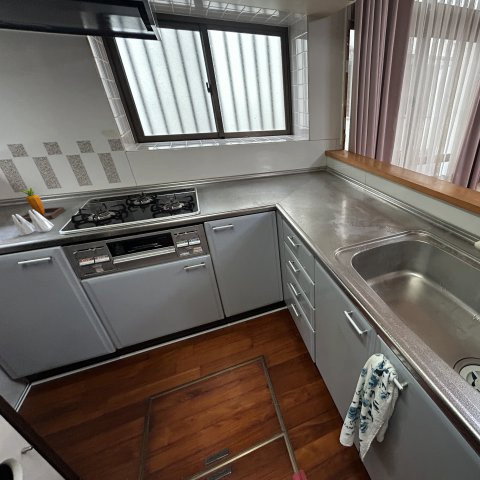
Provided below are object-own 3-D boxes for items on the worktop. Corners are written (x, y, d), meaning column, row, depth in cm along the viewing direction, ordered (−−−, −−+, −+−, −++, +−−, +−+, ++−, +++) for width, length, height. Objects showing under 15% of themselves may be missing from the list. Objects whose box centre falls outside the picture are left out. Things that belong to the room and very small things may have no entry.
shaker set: (56, 228, 128) (44, 206, 122) (51, 232, 124) (39, 210, 119) (25, 232, 125) (11, 210, 119) (19, 236, 121) (5, 214, 116)
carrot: (34, 218, 137) (17, 190, 130) (40, 214, 141) (24, 187, 134) (46, 217, 138) (30, 189, 131) (51, 213, 143) (36, 186, 135)
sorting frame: (18, 222, 133) (16, 219, 132) (34, 212, 144) (32, 209, 143) (52, 219, 136) (50, 215, 135) (65, 209, 147) (63, 206, 146)
